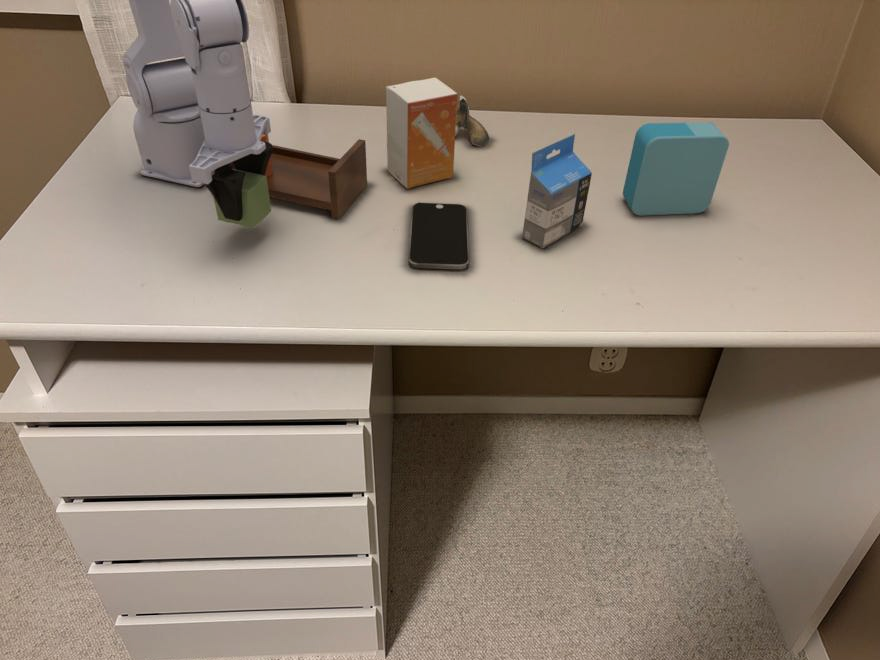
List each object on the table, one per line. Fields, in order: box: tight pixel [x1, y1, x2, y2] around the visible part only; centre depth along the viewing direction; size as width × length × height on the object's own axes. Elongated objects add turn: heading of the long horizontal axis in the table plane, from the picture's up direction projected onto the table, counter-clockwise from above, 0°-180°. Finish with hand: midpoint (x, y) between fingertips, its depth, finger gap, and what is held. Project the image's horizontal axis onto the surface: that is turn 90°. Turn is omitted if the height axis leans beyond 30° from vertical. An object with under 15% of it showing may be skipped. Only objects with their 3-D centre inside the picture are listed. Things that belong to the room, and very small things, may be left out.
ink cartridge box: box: [521, 133, 593, 249], centre depth 95 cm, size 9×4×12 cm, turn 137°
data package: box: [622, 121, 730, 217], centre depth 102 cm, size 12×4×12 cm, turn 100°
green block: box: [212, 169, 272, 229], centre depth 90 cm, size 5×4×5 cm
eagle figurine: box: [455, 95, 490, 148], centre depth 117 cm, size 8×7×9 cm
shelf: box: [229, 138, 368, 220], centre depth 101 cm, size 10×18×7 cm, turn 74°
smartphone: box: [408, 202, 470, 270], centre depth 96 cm, size 8×1×15 cm
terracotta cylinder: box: [261, 134, 273, 178], centre depth 99 cm, size 4×4×6 cm
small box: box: [385, 77, 458, 190], centre depth 104 cm, size 8×6×13 cm
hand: (243, 208), depth 91 cm, fingers closed on green block, 4 cm apart
